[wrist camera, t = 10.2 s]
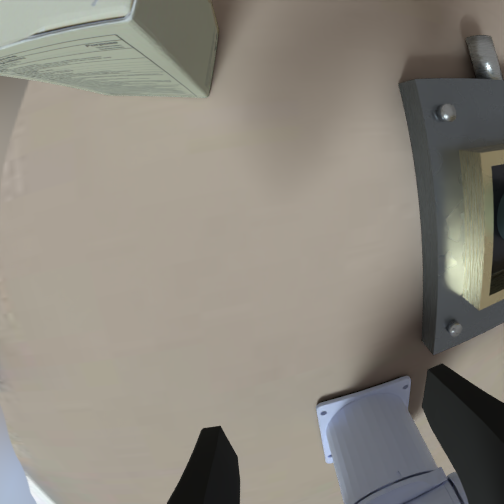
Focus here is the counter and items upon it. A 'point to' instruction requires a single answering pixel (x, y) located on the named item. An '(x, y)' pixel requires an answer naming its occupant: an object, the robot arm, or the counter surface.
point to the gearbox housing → (459, 196)
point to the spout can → (501, 217)
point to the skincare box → (111, 45)
